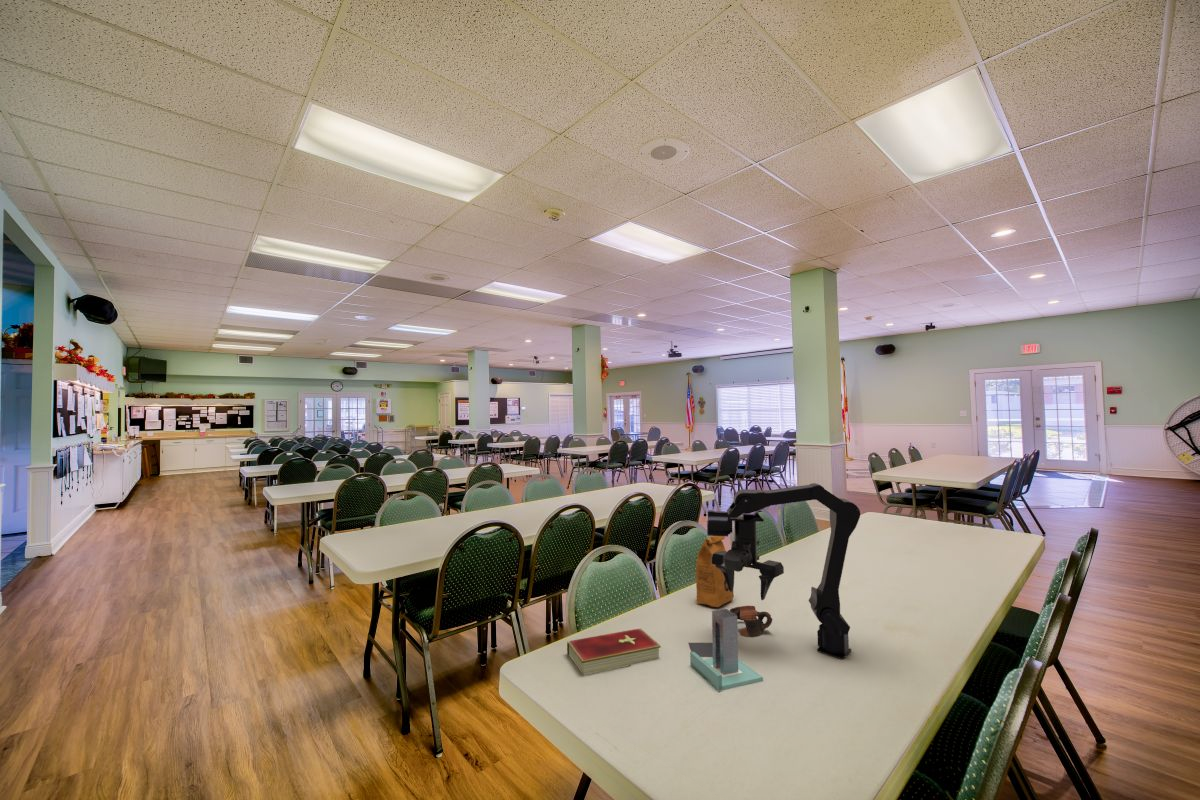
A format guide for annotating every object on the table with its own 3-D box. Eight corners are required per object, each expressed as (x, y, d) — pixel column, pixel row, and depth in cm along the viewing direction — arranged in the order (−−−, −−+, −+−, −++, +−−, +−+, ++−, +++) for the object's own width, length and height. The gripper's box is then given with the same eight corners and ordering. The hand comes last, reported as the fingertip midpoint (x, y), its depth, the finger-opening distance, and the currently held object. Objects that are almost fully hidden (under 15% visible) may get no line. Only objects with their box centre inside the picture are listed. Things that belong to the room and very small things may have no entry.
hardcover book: (567, 656, 127) (567, 639, 127) (640, 642, 135) (639, 626, 135) (582, 678, 116) (582, 660, 116) (660, 661, 124) (660, 644, 124)
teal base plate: (732, 658, 124) (731, 644, 124) (763, 682, 113) (762, 666, 113) (690, 667, 120) (690, 652, 120) (718, 692, 108) (718, 675, 109)
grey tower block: (727, 663, 119) (726, 608, 120) (738, 672, 115) (737, 615, 115) (712, 666, 118) (712, 611, 118) (723, 675, 113) (722, 617, 114)
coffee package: (738, 601, 163) (737, 534, 164) (718, 611, 155) (716, 541, 156) (713, 594, 171) (712, 530, 172) (692, 603, 162) (691, 536, 163)
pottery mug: (730, 639, 136) (724, 607, 141) (736, 642, 144) (730, 612, 148) (774, 633, 133) (766, 601, 137) (778, 636, 140) (770, 606, 145)
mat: (717, 644, 132) (717, 642, 132) (724, 658, 124) (724, 656, 124) (688, 644, 132) (688, 642, 132) (693, 658, 124) (693, 656, 124)
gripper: (699, 536, 134) (700, 594, 133) (763, 548, 121) (765, 613, 120) (721, 530, 142) (722, 584, 141) (784, 540, 129) (785, 601, 128)
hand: (746, 595), depth 132 cm, fingers open, 9 cm apart
